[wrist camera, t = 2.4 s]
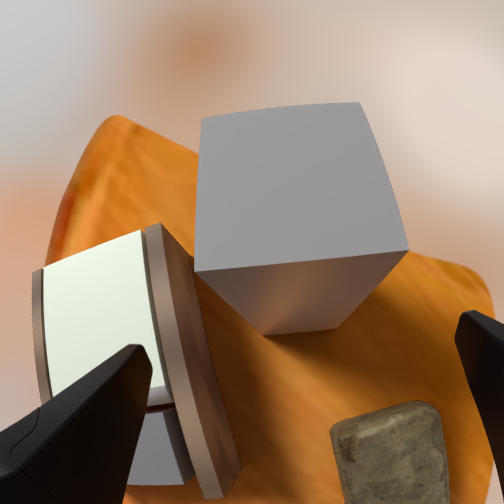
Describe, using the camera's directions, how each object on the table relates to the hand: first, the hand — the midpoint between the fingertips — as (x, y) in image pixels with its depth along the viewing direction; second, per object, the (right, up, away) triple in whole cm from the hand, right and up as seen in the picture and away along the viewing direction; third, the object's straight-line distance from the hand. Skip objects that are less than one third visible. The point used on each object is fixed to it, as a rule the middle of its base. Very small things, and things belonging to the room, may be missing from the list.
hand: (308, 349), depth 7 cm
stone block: (+7, -12, +6) cm, 15 cm away
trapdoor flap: (-9, -5, +10) cm, 14 cm away
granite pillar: (+1, 0, +11) cm, 12 cm away
